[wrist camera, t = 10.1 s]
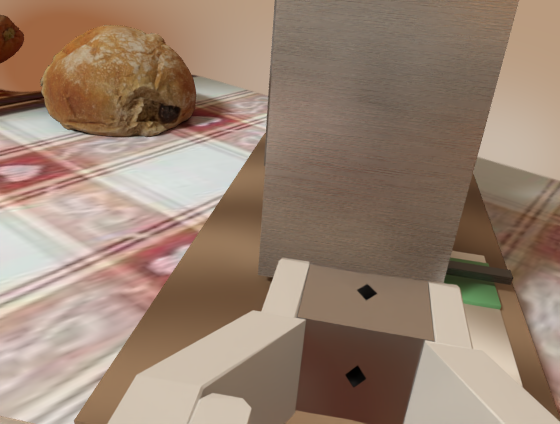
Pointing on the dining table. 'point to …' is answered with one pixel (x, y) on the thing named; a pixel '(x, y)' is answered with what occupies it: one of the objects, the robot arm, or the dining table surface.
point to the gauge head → (378, 132)
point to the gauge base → (254, 288)
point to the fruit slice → (9, 38)
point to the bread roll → (118, 84)
